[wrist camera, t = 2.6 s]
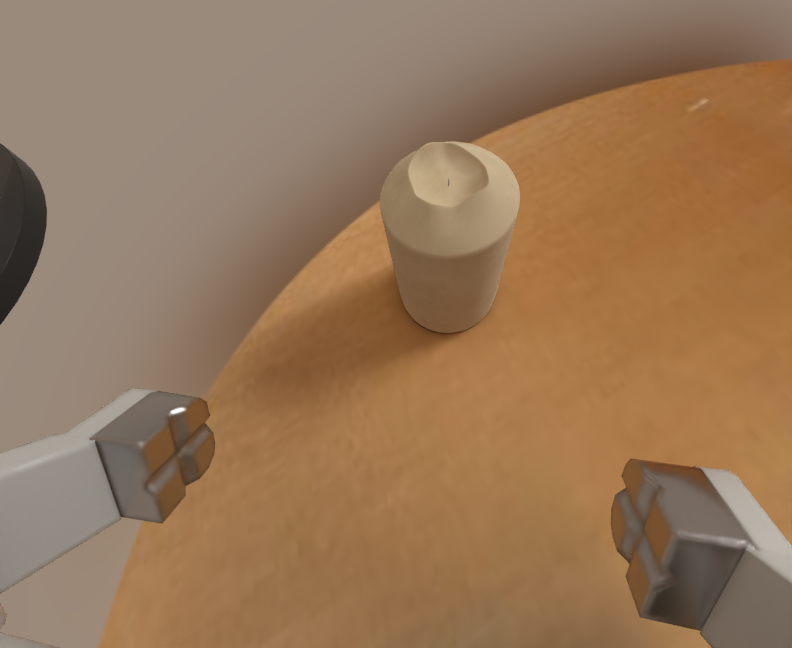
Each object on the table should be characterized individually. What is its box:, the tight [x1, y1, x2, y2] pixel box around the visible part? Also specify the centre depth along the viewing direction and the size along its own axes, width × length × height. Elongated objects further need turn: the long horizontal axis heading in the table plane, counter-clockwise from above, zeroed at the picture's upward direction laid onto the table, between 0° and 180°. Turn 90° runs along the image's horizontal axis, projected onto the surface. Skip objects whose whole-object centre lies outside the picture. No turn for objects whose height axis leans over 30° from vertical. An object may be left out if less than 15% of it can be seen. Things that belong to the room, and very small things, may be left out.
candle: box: [380, 142, 520, 333], centre depth 19 cm, size 6×6×10 cm
